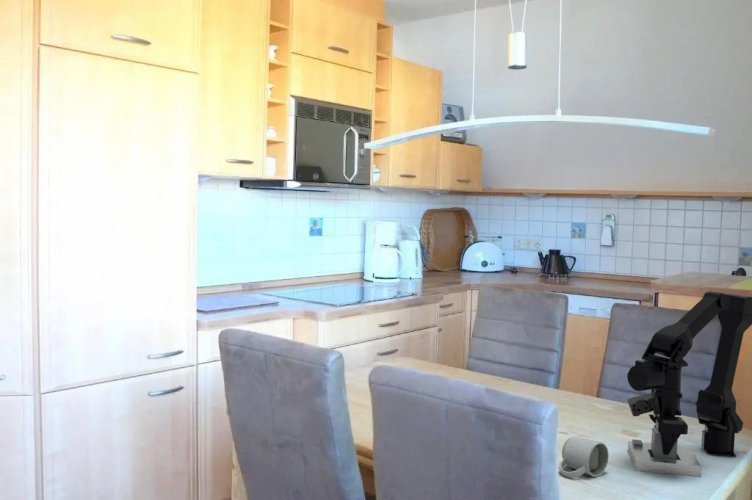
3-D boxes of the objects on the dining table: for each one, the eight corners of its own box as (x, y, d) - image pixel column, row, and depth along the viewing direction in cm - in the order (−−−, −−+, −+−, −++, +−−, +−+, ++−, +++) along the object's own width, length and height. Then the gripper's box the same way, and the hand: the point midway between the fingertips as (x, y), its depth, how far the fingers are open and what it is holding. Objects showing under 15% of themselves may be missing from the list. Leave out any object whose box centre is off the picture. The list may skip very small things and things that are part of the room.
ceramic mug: (578, 461, 166) (579, 430, 165) (608, 472, 159) (610, 439, 159) (549, 472, 159) (550, 439, 159) (580, 484, 153) (581, 450, 152)
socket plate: (688, 456, 171) (689, 443, 170) (700, 476, 158) (701, 462, 158) (627, 450, 174) (628, 438, 173) (635, 470, 161) (635, 456, 161)
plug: (673, 454, 166) (674, 427, 166) (676, 460, 162) (677, 432, 162) (650, 452, 167) (652, 425, 167) (653, 458, 163) (654, 430, 163)
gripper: (626, 373, 174) (623, 435, 175) (636, 394, 156) (633, 462, 157) (673, 377, 172) (670, 439, 173) (690, 398, 154) (686, 467, 155)
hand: (664, 451), depth 165 cm, fingers closed on plug, 4 cm apart
